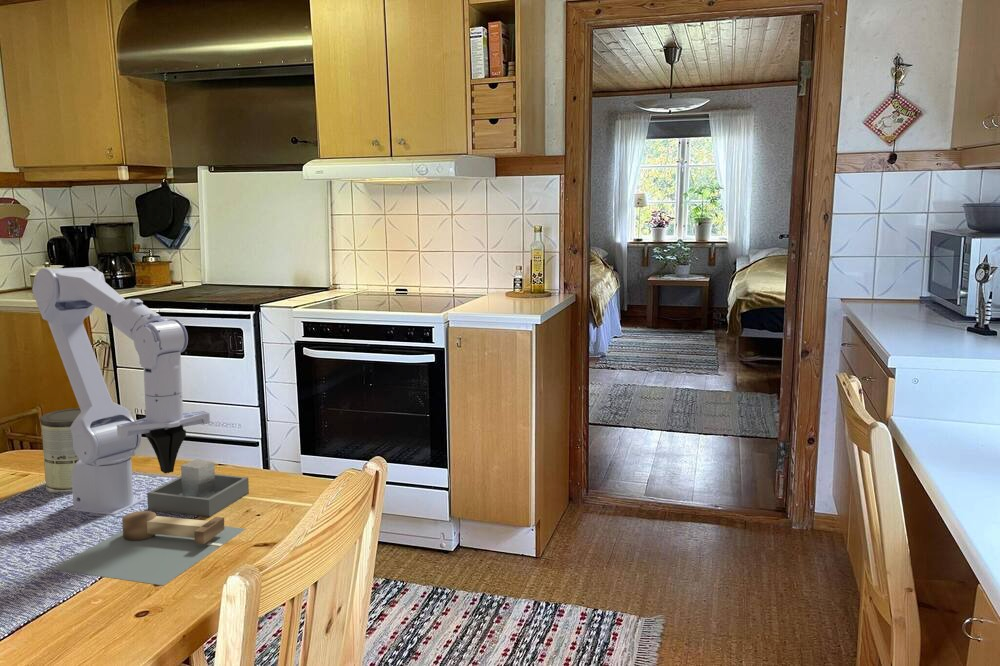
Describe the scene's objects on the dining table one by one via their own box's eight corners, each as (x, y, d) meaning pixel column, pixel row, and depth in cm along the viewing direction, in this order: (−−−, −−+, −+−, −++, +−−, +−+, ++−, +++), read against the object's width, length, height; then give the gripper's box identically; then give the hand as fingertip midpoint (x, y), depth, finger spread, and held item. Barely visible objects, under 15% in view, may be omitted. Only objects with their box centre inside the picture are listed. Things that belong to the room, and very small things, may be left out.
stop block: (182, 502, 139) (180, 465, 138) (198, 495, 143) (197, 459, 142) (199, 505, 138) (198, 468, 137) (215, 498, 141) (214, 462, 140)
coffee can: (40, 482, 150) (36, 412, 148) (99, 472, 156) (95, 405, 154) (49, 497, 142) (44, 423, 140) (110, 486, 148) (106, 416, 146)
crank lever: (114, 540, 123) (113, 522, 122) (138, 525, 128) (137, 508, 128) (204, 549, 120) (203, 531, 119) (224, 534, 126) (223, 516, 125)
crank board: (51, 571, 113) (51, 568, 113) (148, 518, 133) (148, 516, 133) (163, 588, 108) (163, 584, 108) (245, 531, 128) (245, 528, 128)
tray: (148, 511, 136) (147, 492, 136) (191, 488, 148) (190, 471, 147) (209, 519, 133) (209, 500, 133) (248, 495, 145) (248, 477, 145)
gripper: (126, 403, 120) (130, 487, 121) (216, 390, 130) (219, 467, 132) (110, 395, 125) (115, 476, 126) (198, 384, 135) (201, 458, 137)
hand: (167, 471), depth 129 cm, fingers closed
